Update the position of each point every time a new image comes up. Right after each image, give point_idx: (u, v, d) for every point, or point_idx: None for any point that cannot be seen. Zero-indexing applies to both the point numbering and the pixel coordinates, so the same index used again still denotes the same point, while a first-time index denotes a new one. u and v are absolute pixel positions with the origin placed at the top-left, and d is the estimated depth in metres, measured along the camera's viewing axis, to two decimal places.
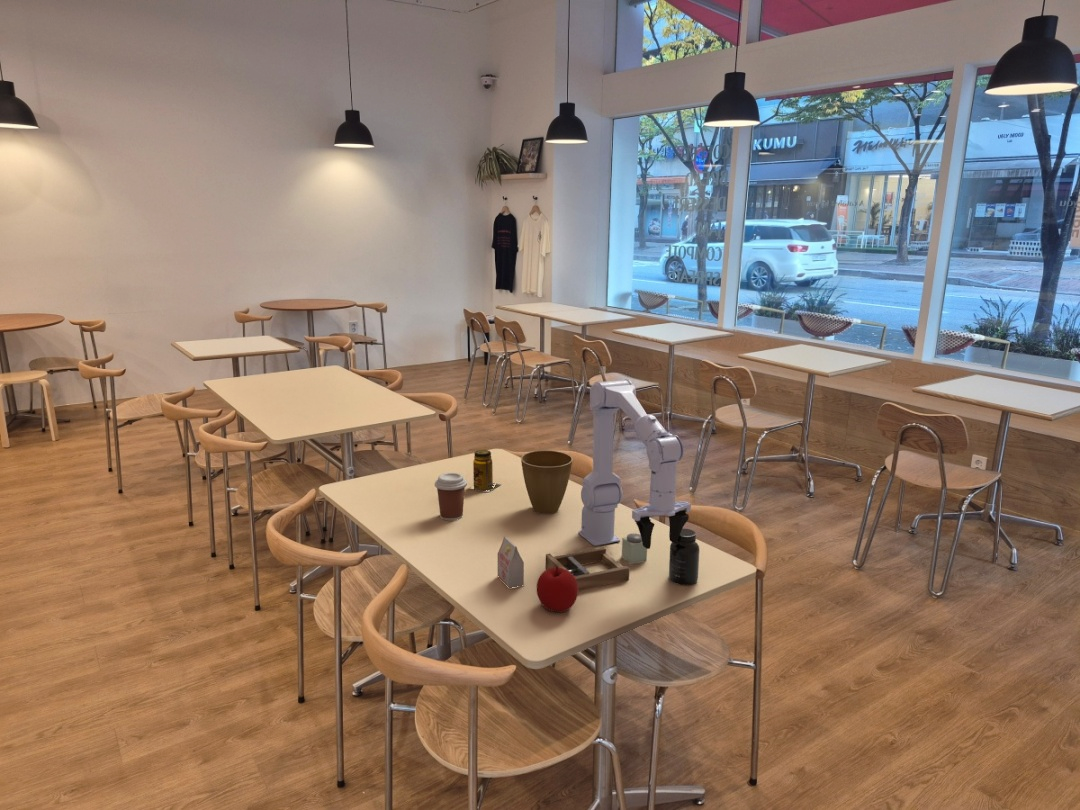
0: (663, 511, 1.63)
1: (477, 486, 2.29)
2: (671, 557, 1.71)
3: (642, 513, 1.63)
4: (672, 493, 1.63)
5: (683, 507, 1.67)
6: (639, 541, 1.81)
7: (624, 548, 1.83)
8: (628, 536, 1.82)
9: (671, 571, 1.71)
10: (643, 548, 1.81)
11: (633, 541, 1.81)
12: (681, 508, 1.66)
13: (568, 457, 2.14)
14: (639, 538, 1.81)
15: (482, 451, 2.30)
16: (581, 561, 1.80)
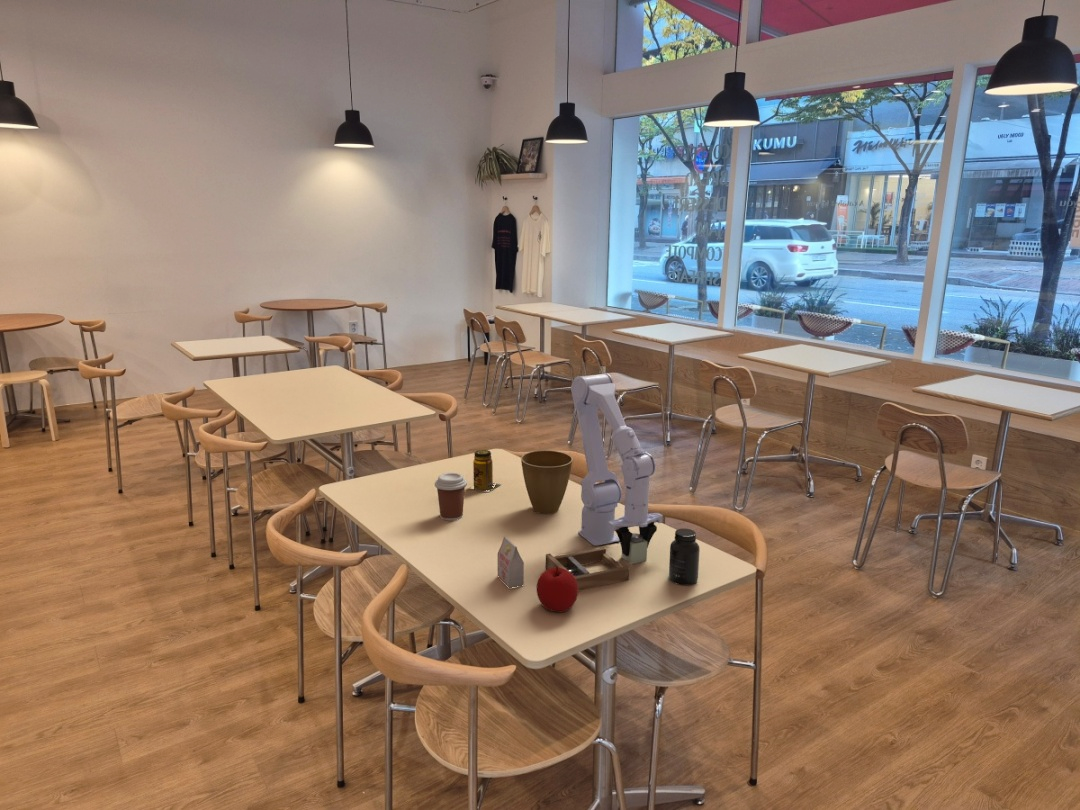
0: (636, 522, 1.78)
1: (477, 486, 2.29)
2: (671, 556, 1.71)
3: (617, 524, 1.78)
4: (645, 506, 1.78)
5: (655, 518, 1.82)
6: (639, 541, 1.81)
7: None
8: None
9: (671, 571, 1.72)
10: (643, 548, 1.81)
11: (633, 541, 1.81)
12: (653, 519, 1.81)
13: (568, 457, 2.14)
14: (639, 538, 1.81)
15: (482, 451, 2.30)
16: (581, 561, 1.80)
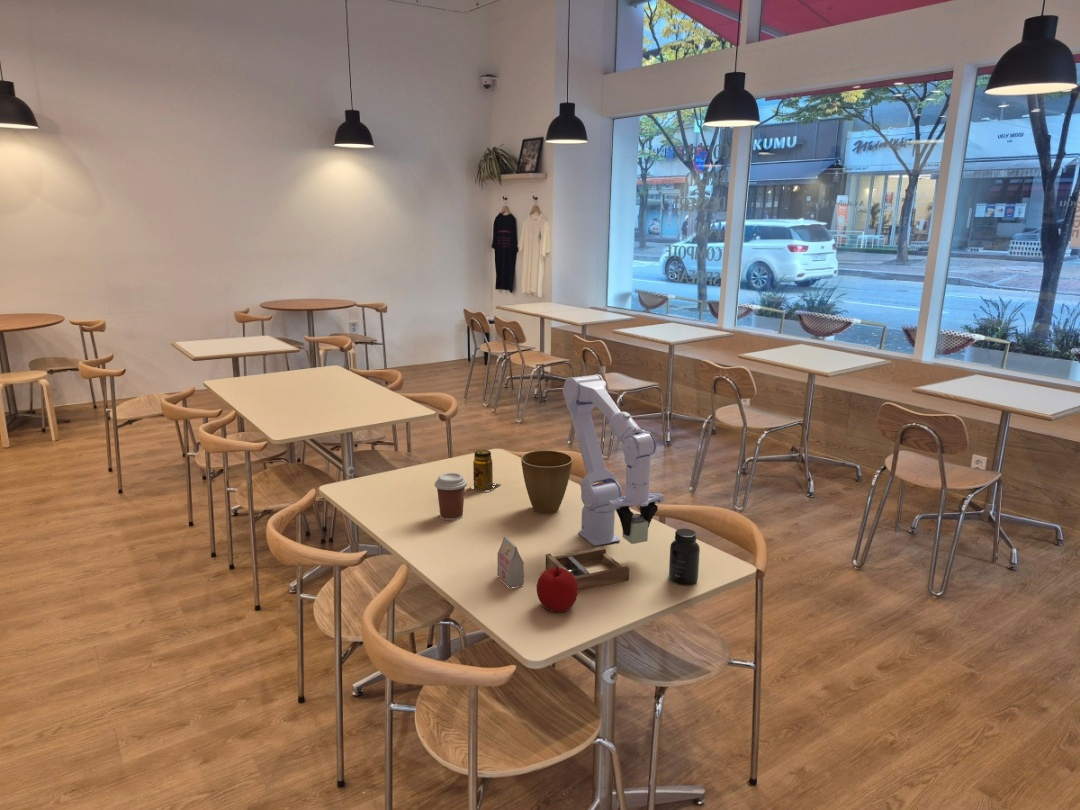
0: (637, 502, 1.77)
1: (477, 486, 2.29)
2: (671, 556, 1.71)
3: (618, 503, 1.77)
4: (646, 485, 1.77)
5: (656, 498, 1.81)
6: (640, 521, 1.79)
7: None
8: None
9: (671, 571, 1.72)
10: (644, 528, 1.80)
11: (634, 521, 1.79)
12: (654, 499, 1.80)
13: (568, 457, 2.14)
14: (640, 518, 1.80)
15: (482, 451, 2.30)
16: (581, 561, 1.80)
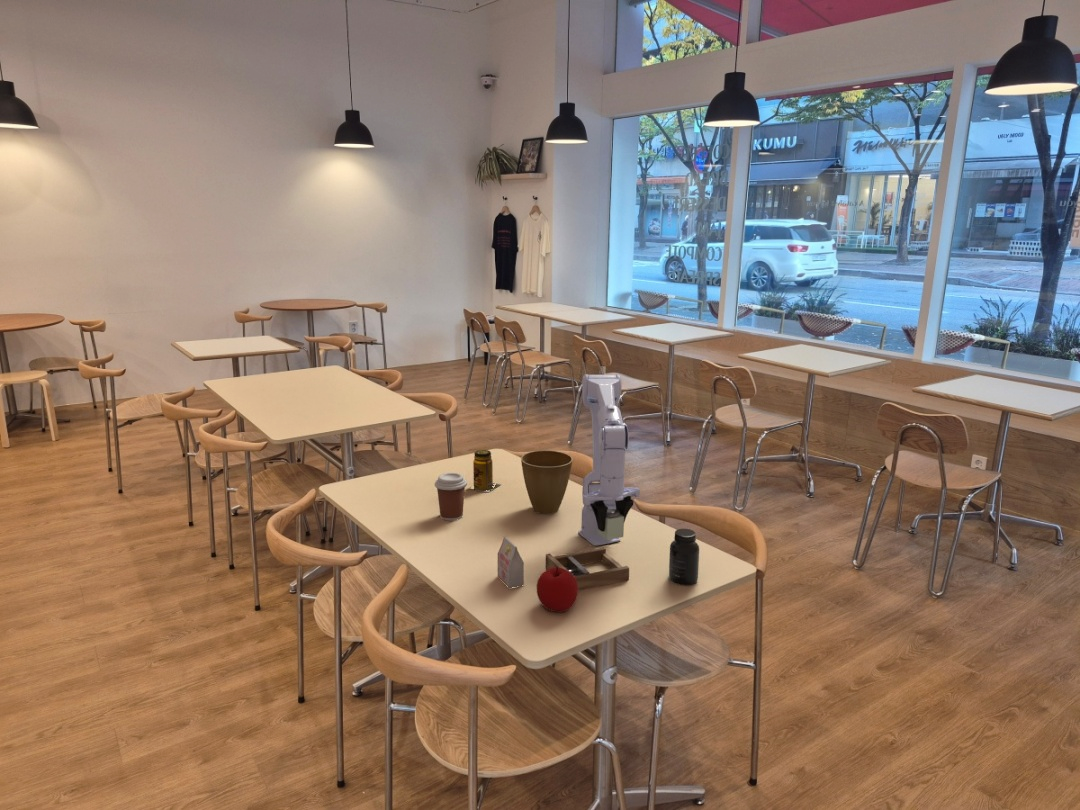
0: (612, 496, 1.71)
1: (477, 486, 2.29)
2: (670, 557, 1.71)
3: (592, 498, 1.70)
4: (620, 479, 1.71)
5: (632, 492, 1.75)
6: (615, 516, 1.73)
7: None
8: None
9: (671, 571, 1.72)
10: (620, 523, 1.74)
11: (609, 516, 1.73)
12: (630, 493, 1.74)
13: (568, 457, 2.14)
14: (615, 513, 1.74)
15: (482, 451, 2.30)
16: (581, 561, 1.80)
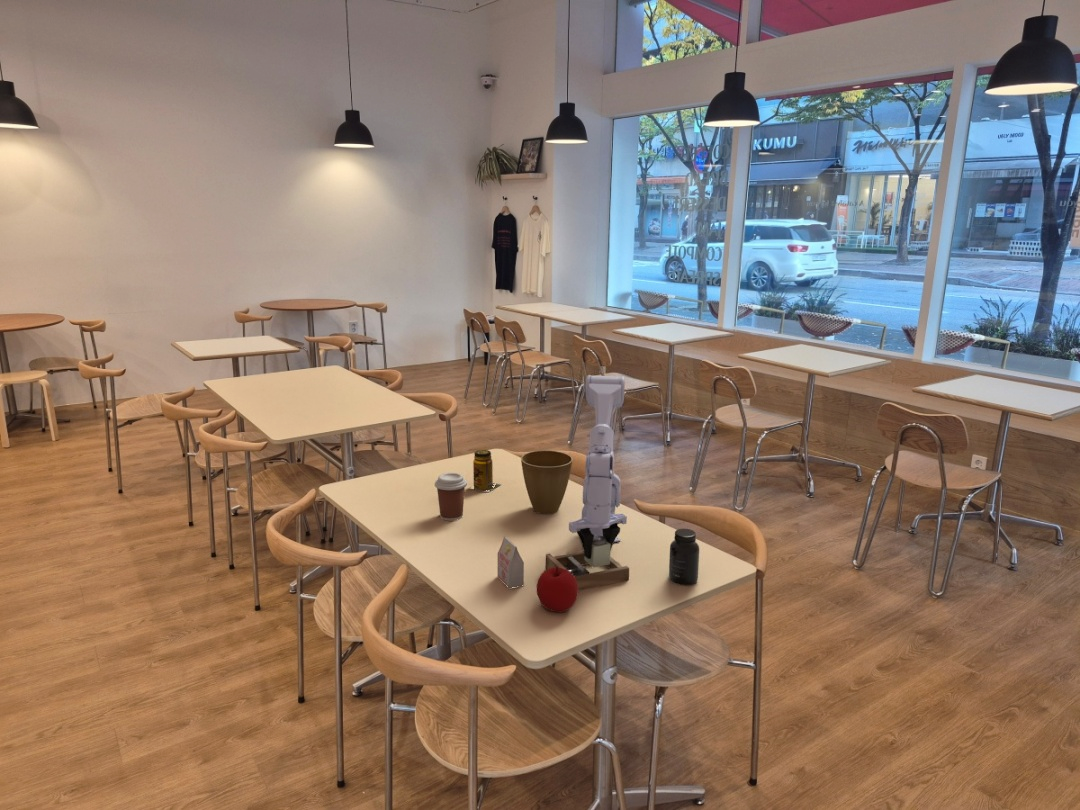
0: (598, 523, 1.70)
1: (477, 486, 2.29)
2: (670, 557, 1.71)
3: (578, 525, 1.70)
4: (607, 506, 1.70)
5: (619, 519, 1.74)
6: (602, 543, 1.72)
7: None
8: None
9: (671, 571, 1.72)
10: (606, 551, 1.73)
11: (595, 543, 1.72)
12: (617, 520, 1.73)
13: (568, 457, 2.14)
14: (602, 540, 1.73)
15: (482, 451, 2.30)
16: (581, 561, 1.80)
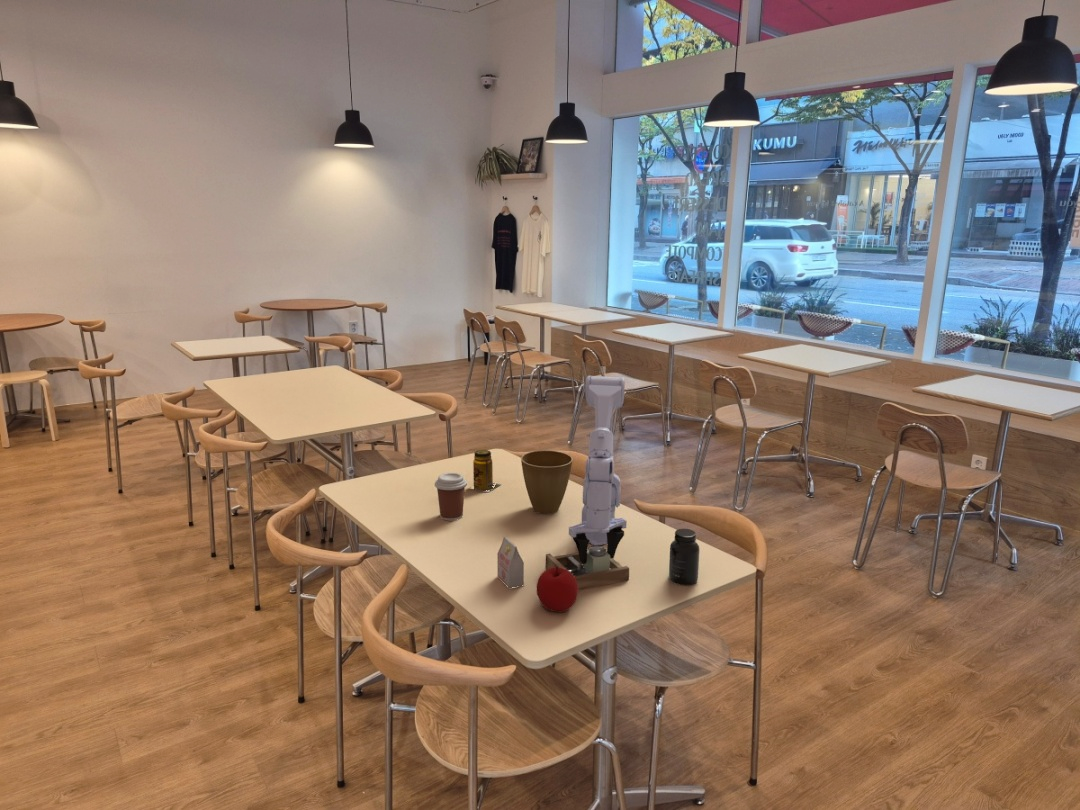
0: (598, 528, 1.70)
1: (477, 486, 2.29)
2: (671, 556, 1.71)
3: (578, 530, 1.70)
4: (606, 511, 1.70)
5: (618, 524, 1.74)
6: (601, 554, 1.73)
7: None
8: (590, 549, 1.75)
9: (671, 571, 1.72)
10: (606, 562, 1.74)
11: (595, 555, 1.73)
12: (616, 525, 1.73)
13: (568, 457, 2.14)
14: (601, 551, 1.74)
15: (482, 451, 2.30)
16: None
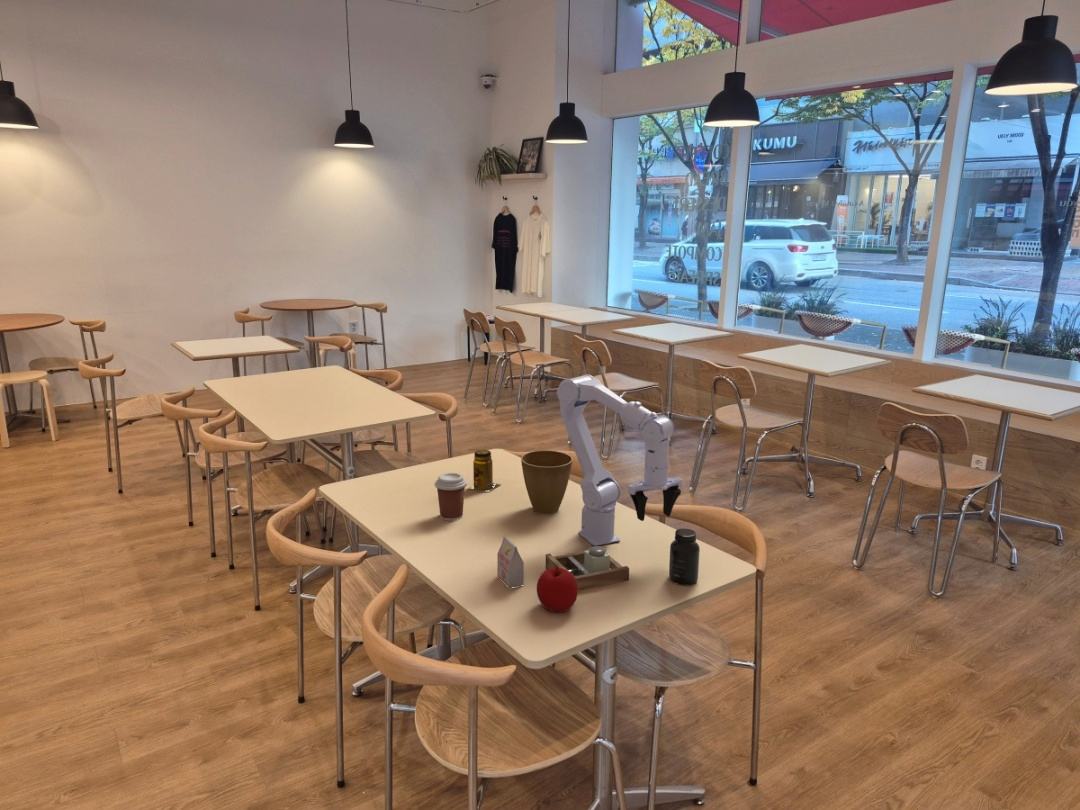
0: (656, 486, 1.78)
1: (477, 486, 2.29)
2: (671, 556, 1.71)
3: (637, 487, 1.78)
4: (664, 469, 1.78)
5: (675, 482, 1.82)
6: (601, 555, 1.73)
7: (586, 561, 1.75)
8: (590, 549, 1.75)
9: (671, 571, 1.72)
10: (606, 562, 1.74)
11: (595, 555, 1.73)
12: (673, 483, 1.81)
13: (568, 457, 2.14)
14: (601, 551, 1.74)
15: (482, 451, 2.30)
16: (581, 561, 1.80)
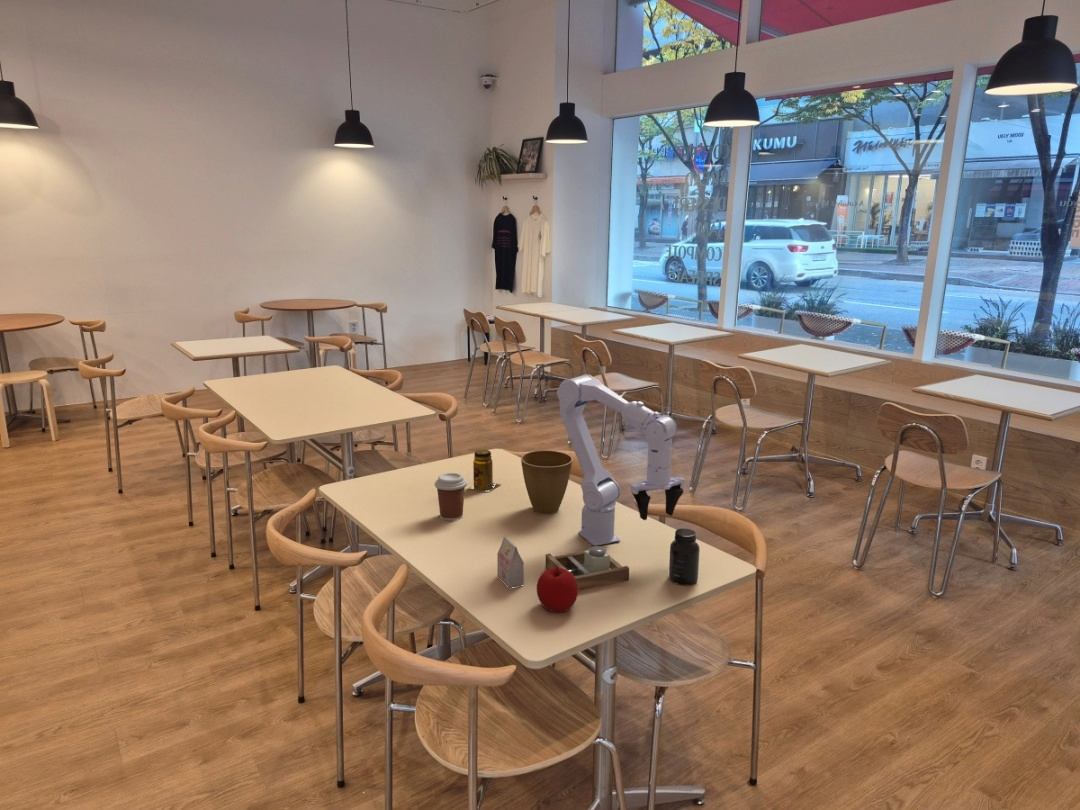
0: (659, 485, 1.79)
1: (477, 486, 2.29)
2: (671, 556, 1.71)
3: (640, 487, 1.78)
4: (667, 469, 1.78)
5: (677, 482, 1.82)
6: (601, 554, 1.73)
7: (586, 561, 1.75)
8: (590, 549, 1.75)
9: (671, 571, 1.72)
10: (606, 562, 1.74)
11: (595, 555, 1.73)
12: (676, 483, 1.82)
13: (568, 457, 2.14)
14: (601, 551, 1.74)
15: (482, 451, 2.30)
16: (581, 561, 1.80)
